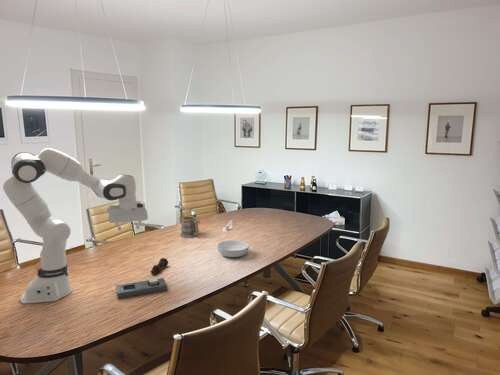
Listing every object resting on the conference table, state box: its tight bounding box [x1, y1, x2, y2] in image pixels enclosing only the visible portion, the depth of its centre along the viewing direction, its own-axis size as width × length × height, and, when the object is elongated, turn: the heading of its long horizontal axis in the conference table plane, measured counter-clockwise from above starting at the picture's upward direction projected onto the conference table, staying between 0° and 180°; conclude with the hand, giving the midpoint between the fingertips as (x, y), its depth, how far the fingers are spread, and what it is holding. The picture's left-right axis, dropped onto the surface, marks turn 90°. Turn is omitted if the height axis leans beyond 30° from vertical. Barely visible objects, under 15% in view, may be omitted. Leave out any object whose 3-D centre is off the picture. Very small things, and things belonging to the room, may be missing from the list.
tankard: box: [179, 216, 201, 239], centre depth 282 cm, size 20×13×15 cm, turn 43°
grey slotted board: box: [115, 277, 168, 300], centre depth 189 cm, size 24×10×3 cm, turn 113°
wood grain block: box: [148, 277, 158, 286], centre depth 191 cm, size 4×4×5 cm
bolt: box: [150, 257, 169, 275], centre depth 215 cm, size 6×5×15 cm
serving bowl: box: [216, 239, 250, 258], centre depth 242 cm, size 21×21×7 cm
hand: (128, 229), depth 199 cm, fingers open, 8 cm apart
